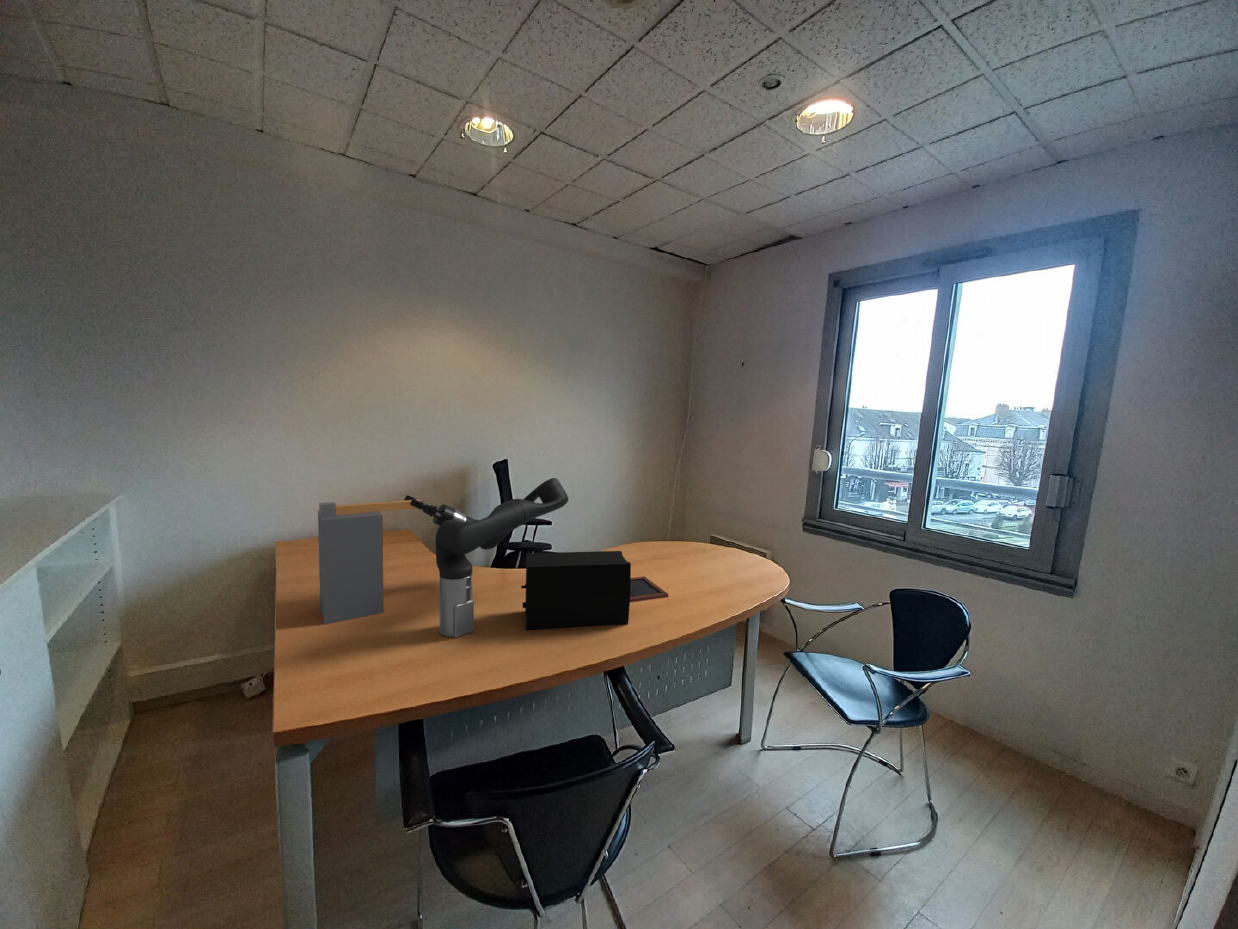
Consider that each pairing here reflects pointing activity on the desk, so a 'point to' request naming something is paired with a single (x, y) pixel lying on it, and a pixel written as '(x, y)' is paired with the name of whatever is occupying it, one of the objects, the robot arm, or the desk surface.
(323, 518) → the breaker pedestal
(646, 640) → the desk surface
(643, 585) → the picture frame
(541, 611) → the uninterruptible power supply
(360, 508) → the lever bar
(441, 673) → the desk surface
